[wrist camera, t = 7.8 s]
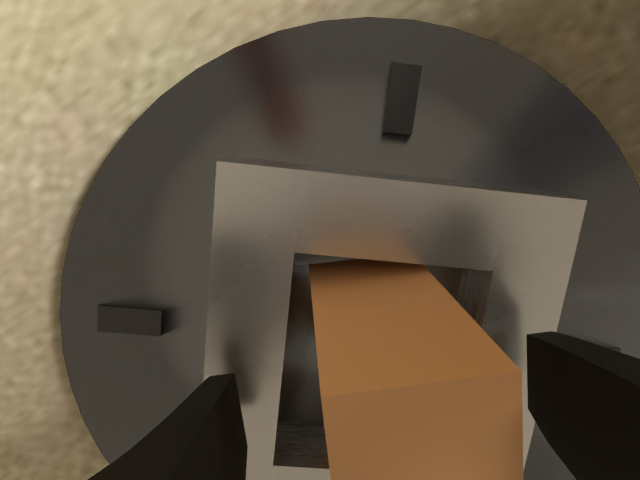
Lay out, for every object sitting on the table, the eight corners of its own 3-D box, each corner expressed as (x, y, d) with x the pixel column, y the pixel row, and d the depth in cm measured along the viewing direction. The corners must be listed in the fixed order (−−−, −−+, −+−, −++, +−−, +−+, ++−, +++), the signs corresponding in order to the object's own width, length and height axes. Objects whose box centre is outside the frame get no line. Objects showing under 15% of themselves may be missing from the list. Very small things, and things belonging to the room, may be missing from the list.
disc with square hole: (716, 64, 14) (811, 50, 11) (573, 576, 18) (619, 651, 15) (66, -20, 12) (8, -58, 10) (71, 553, 16) (30, 630, 14)
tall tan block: (411, 252, 14) (522, 371, 7) (419, 376, 15) (524, 587, 8) (308, 264, 14) (320, 396, 7) (323, 388, 15) (346, 611, 8)
